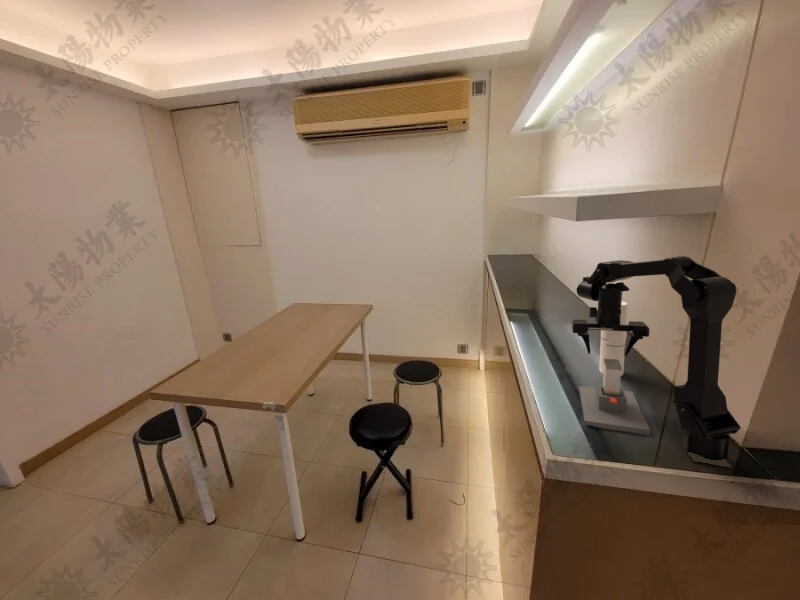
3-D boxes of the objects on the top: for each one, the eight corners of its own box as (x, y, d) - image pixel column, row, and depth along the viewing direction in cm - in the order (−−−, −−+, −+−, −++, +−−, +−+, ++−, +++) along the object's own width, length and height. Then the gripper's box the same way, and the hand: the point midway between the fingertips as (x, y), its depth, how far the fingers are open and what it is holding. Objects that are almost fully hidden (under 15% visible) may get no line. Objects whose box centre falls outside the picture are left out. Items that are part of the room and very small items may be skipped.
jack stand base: (632, 396, 98) (633, 379, 97) (649, 435, 80) (651, 415, 79) (579, 390, 104) (579, 374, 103) (585, 425, 86) (585, 406, 85)
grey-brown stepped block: (616, 390, 93) (618, 359, 91) (620, 398, 88) (621, 366, 86) (602, 388, 94) (603, 358, 92) (604, 396, 90) (606, 365, 88)
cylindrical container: (609, 366, 119) (612, 299, 114) (628, 373, 112) (632, 303, 107) (594, 370, 117) (597, 302, 112) (612, 378, 110) (616, 306, 105)
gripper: (641, 298, 97) (637, 347, 100) (571, 297, 105) (569, 343, 108) (652, 307, 87) (647, 361, 91) (573, 306, 95) (572, 356, 98)
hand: (606, 354), depth 97 cm, fingers open, 9 cm apart
